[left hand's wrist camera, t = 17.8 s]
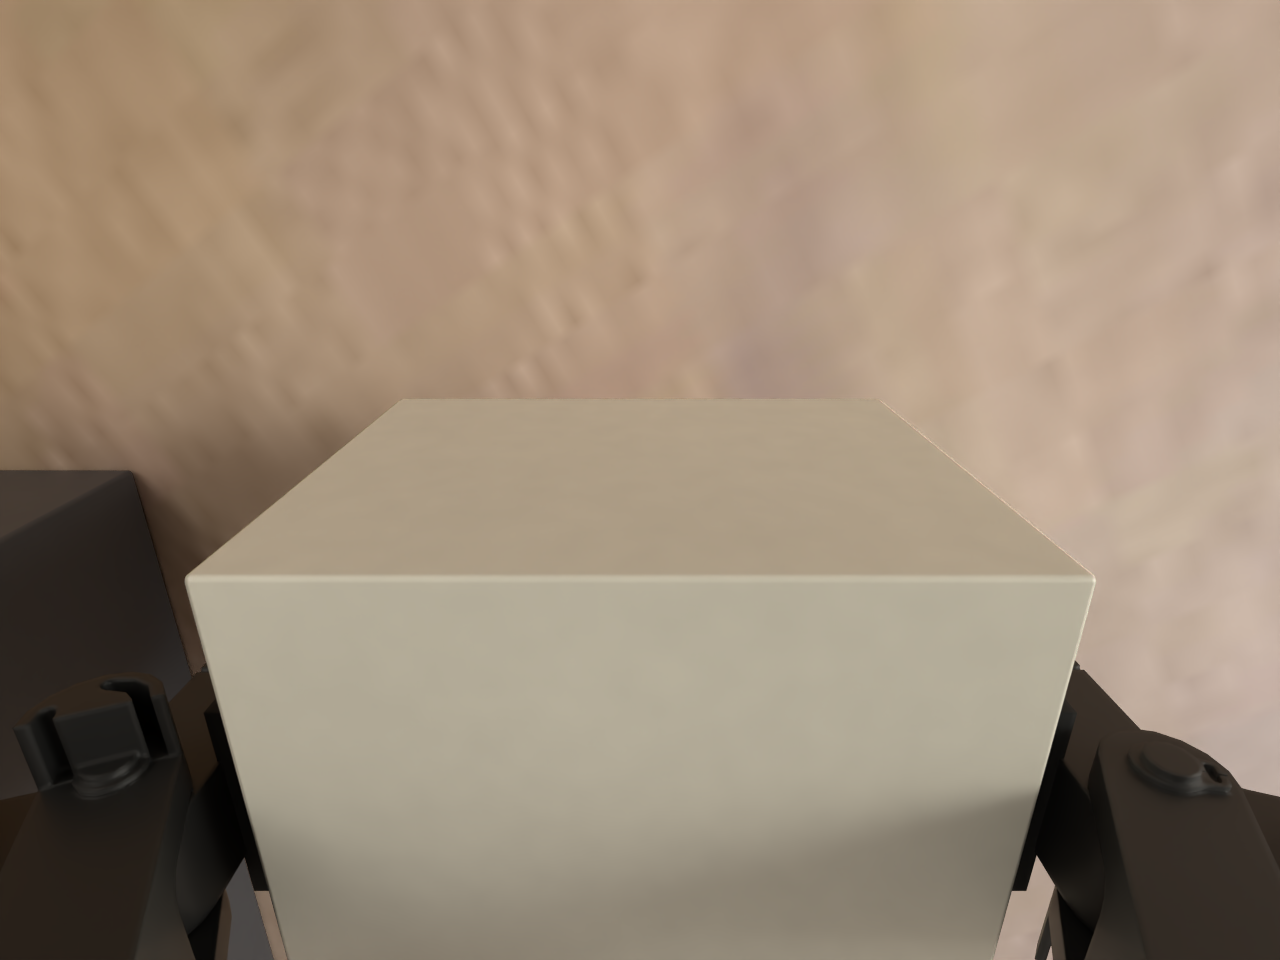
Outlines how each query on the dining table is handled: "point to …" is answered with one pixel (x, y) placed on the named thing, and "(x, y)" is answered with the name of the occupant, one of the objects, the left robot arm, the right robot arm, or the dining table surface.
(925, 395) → the dining table surface
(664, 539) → the cap block
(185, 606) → the dining table surface
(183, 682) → the grey long block
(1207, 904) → the left robot arm
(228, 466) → the dining table surface
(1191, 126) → the dining table surface
